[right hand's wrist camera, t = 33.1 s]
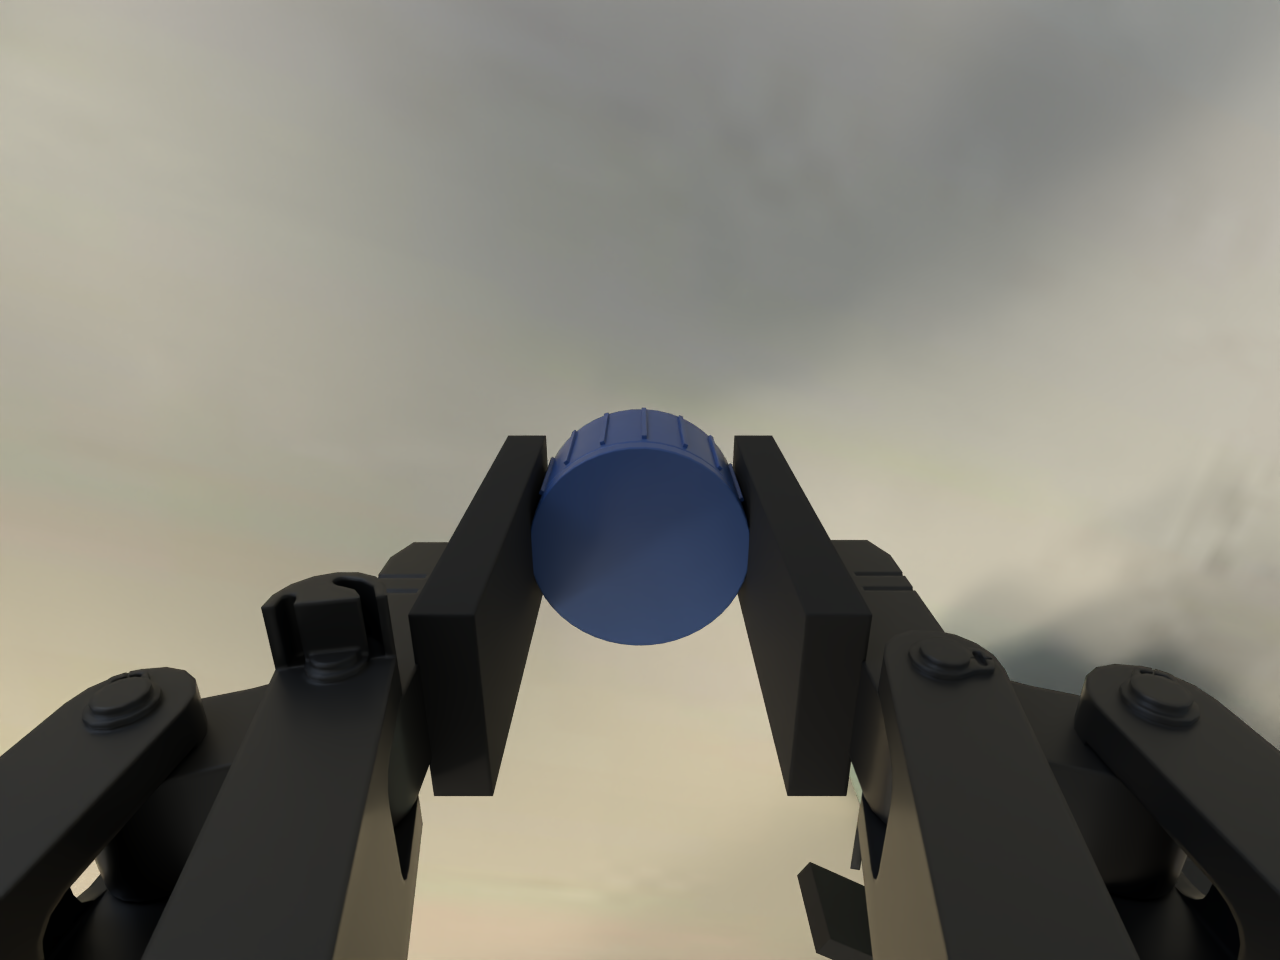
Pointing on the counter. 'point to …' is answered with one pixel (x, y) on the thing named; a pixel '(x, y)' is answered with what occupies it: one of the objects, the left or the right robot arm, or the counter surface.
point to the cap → (640, 529)
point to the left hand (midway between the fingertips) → (886, 830)
